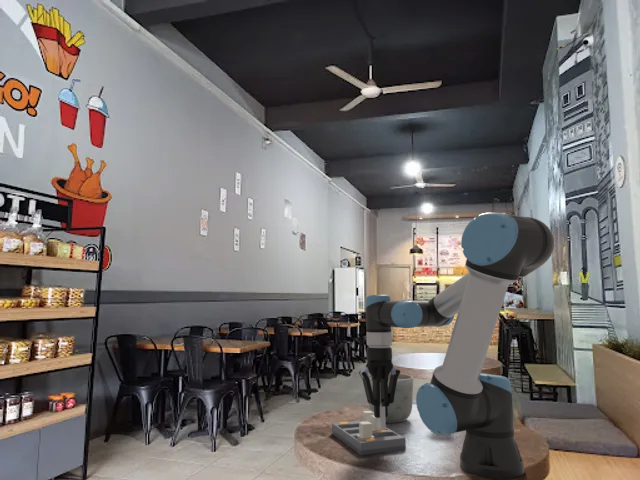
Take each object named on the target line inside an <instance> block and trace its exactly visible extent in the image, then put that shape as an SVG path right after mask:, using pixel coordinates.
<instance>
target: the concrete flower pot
mask: <svg viewBox="0 0 640 480" xmlns="http://www.w3.org/2000/svg"><path fill="white" fill-rule="evenodd" d="M390 375H391V373H390V374H389V376H388V386H389V380H390ZM368 377H369V379H370V383H371V388H372V392H373V382H372V376H371V375H370V373H369V376H368ZM413 393H414V377H413V375H410V374H406V373H400V374H399V376H398V378H397V384H396V390H395V396H394V402H393V403H390V405H389V406H388V416H387V417H385V420H386V423H387V424H395V423H397V424H398V423H401V422H404V421H406V420H407V419H408V418H409V417H410V416H411V414H412V410H413V402H414V401H413V398H414V397H413V395H414V394H413ZM380 405H382V404H381V390H380ZM368 408H369V409H368V410H369V411H372V412H374V406H373V405H372V404H369V403H368Z"/></svg>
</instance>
